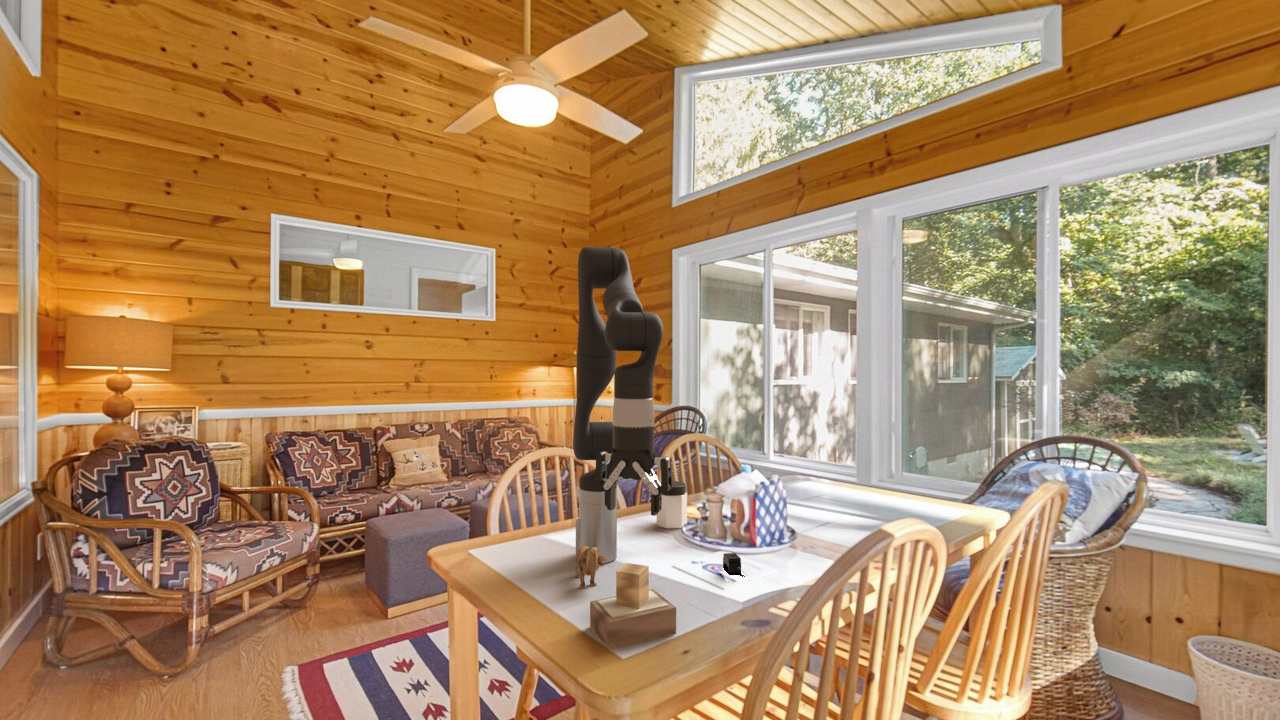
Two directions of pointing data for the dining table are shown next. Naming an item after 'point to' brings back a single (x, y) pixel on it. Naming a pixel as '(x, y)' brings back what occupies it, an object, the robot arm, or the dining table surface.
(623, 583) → the oak block
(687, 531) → the dining table surface
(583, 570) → the lion figurine
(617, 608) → the plinth
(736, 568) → the black block
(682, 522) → the jar
